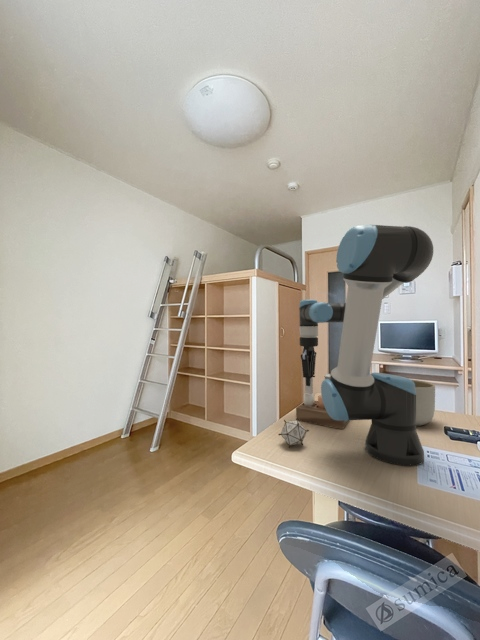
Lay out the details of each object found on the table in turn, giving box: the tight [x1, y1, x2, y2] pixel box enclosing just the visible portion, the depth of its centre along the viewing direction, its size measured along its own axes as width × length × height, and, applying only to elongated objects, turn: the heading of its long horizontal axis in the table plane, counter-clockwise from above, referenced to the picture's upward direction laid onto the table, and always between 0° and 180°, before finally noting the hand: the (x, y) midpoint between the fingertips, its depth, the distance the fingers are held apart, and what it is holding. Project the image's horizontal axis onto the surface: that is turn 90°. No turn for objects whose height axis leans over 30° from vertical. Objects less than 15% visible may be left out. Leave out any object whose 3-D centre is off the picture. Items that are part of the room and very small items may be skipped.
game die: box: [278, 418, 310, 449], centre depth 87 cm, size 9×8×10 cm
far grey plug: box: [303, 393, 316, 407], centre depth 114 cm, size 4×4×6 cm
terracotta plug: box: [317, 395, 325, 409], centre depth 110 cm, size 4×4×6 cm
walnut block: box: [295, 400, 350, 430], centre depth 110 cm, size 14×18×5 cm
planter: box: [411, 379, 436, 427], centre depth 108 cm, size 17×17×15 cm
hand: (309, 393), depth 114 cm, fingers closed
